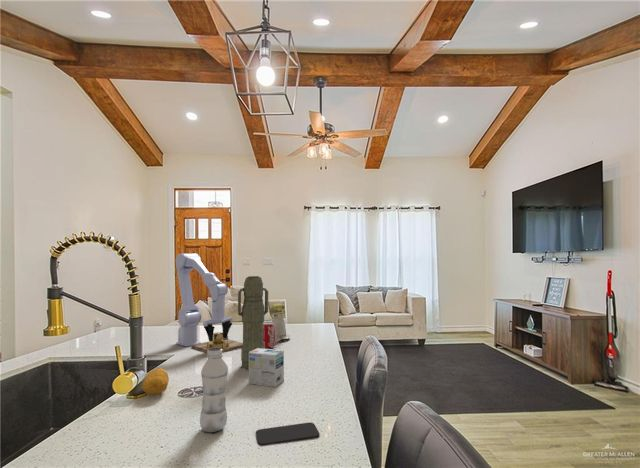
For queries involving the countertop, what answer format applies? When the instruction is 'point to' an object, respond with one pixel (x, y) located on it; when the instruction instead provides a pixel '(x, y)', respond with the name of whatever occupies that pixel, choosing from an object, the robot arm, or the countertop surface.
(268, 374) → the light bulb box
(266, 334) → the soda can
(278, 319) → the white paper bag
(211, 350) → the plastic bottle
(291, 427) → the phone
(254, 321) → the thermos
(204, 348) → the carrier plate
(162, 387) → the potato
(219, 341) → the brass gear
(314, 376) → the countertop surface
